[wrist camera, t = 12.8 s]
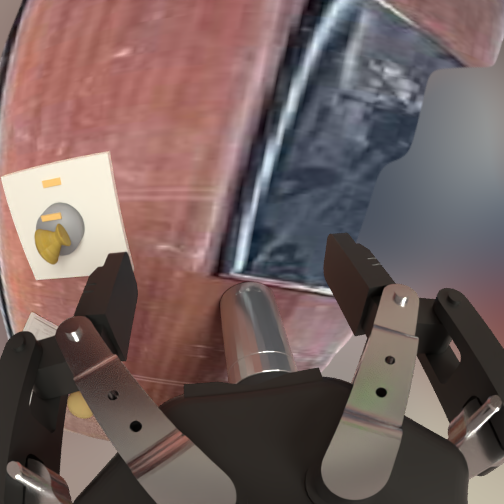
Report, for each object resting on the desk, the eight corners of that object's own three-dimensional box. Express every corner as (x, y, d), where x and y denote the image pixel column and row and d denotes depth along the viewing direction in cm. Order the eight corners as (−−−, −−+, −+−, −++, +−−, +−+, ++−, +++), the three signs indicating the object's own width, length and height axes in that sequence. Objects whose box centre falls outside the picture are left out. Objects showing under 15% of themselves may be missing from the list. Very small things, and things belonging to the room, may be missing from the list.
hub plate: (134, 268, 44) (130, 283, 41) (38, 276, 42) (30, 290, 39) (109, 151, 35) (101, 159, 31) (4, 175, 32) (-10, 184, 29)
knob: (57, 254, 37) (44, 275, 33) (37, 225, 34) (22, 244, 30) (80, 242, 37) (68, 263, 33) (61, 211, 34) (46, 229, 30)
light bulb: (94, 372, 57) (87, 410, 48) (103, 387, 60) (97, 424, 52) (69, 370, 56) (60, 407, 47) (79, 385, 59) (71, 421, 51)
